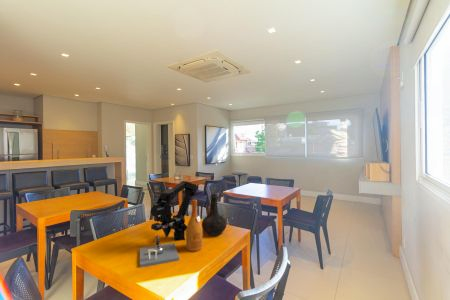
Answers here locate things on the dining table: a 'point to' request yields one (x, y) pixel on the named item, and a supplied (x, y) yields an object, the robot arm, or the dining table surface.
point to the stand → (158, 255)
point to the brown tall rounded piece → (194, 230)
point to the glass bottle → (214, 219)
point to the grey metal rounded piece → (158, 248)
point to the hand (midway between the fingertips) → (166, 236)
